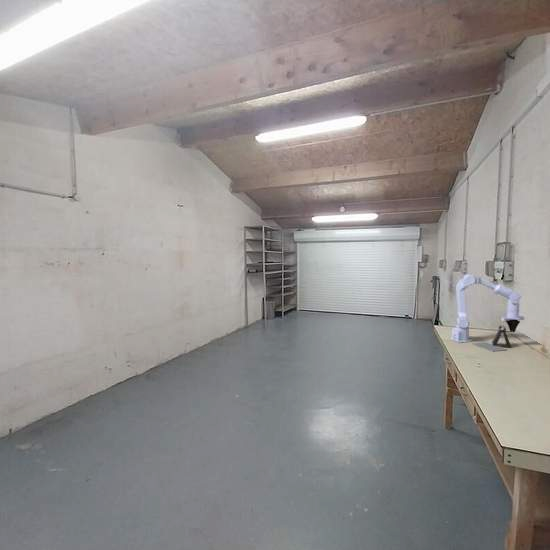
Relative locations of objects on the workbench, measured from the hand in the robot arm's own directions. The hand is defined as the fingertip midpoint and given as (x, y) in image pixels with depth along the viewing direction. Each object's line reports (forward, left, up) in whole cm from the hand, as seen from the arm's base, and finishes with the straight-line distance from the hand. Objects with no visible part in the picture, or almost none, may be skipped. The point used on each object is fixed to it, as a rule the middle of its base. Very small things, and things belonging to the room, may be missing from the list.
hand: (512, 331), depth 180 cm
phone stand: (-8, 0, -8) cm, 11 cm away
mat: (-17, -1, -8) cm, 19 cm away
